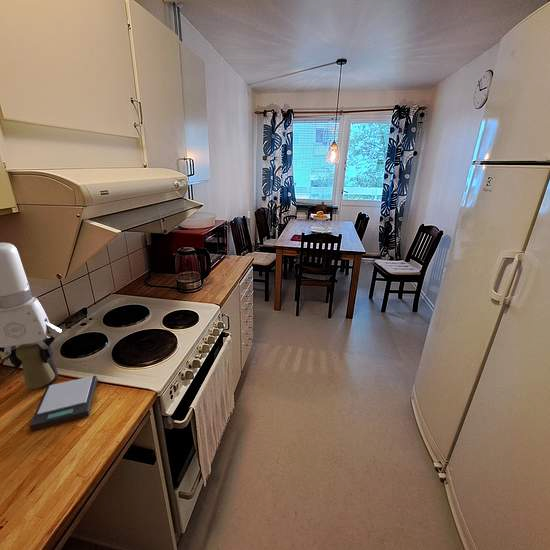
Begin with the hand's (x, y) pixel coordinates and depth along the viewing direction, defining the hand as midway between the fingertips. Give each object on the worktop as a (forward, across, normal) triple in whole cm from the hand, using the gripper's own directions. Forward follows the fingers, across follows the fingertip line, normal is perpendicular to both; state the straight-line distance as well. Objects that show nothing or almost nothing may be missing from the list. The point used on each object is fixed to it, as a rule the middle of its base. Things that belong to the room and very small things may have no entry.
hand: (33, 361), depth 71 cm
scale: (+23, 0, +10) cm, 25 cm away
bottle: (+23, -10, +24) cm, 35 cm away
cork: (+6, 0, 0) cm, 6 cm away
